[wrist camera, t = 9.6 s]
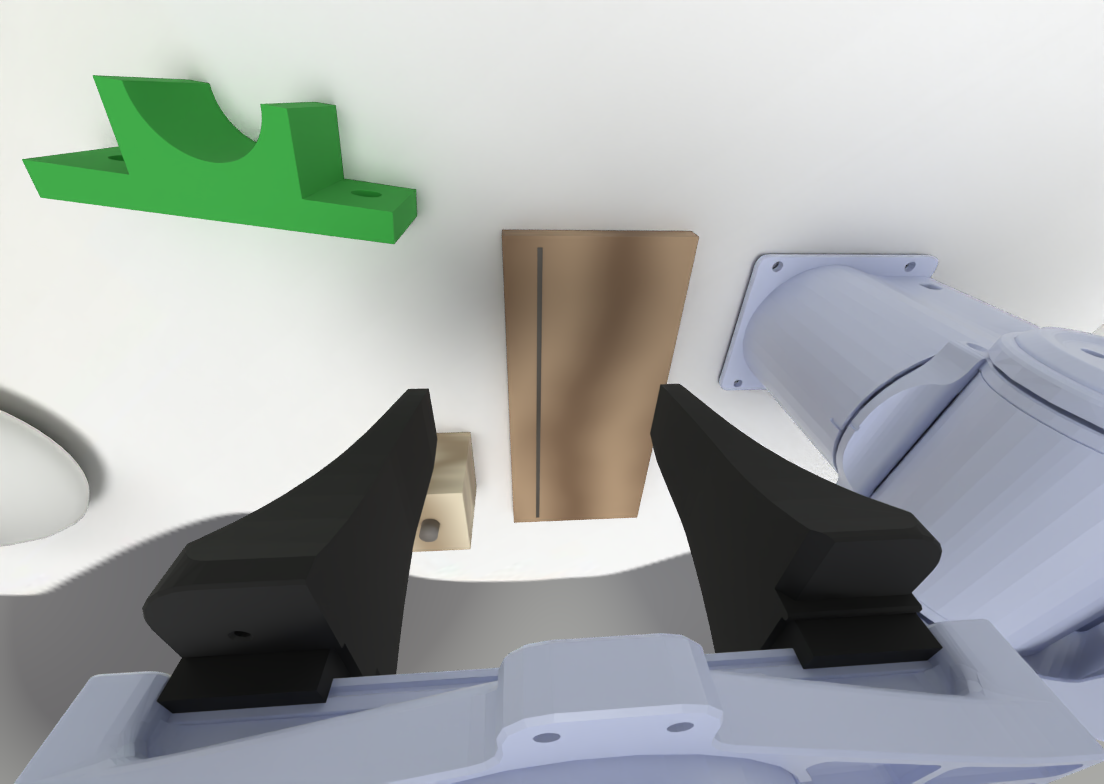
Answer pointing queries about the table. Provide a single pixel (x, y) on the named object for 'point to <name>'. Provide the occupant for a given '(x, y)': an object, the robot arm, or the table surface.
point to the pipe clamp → (223, 165)
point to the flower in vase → (36, 484)
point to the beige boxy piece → (449, 497)
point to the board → (588, 363)
